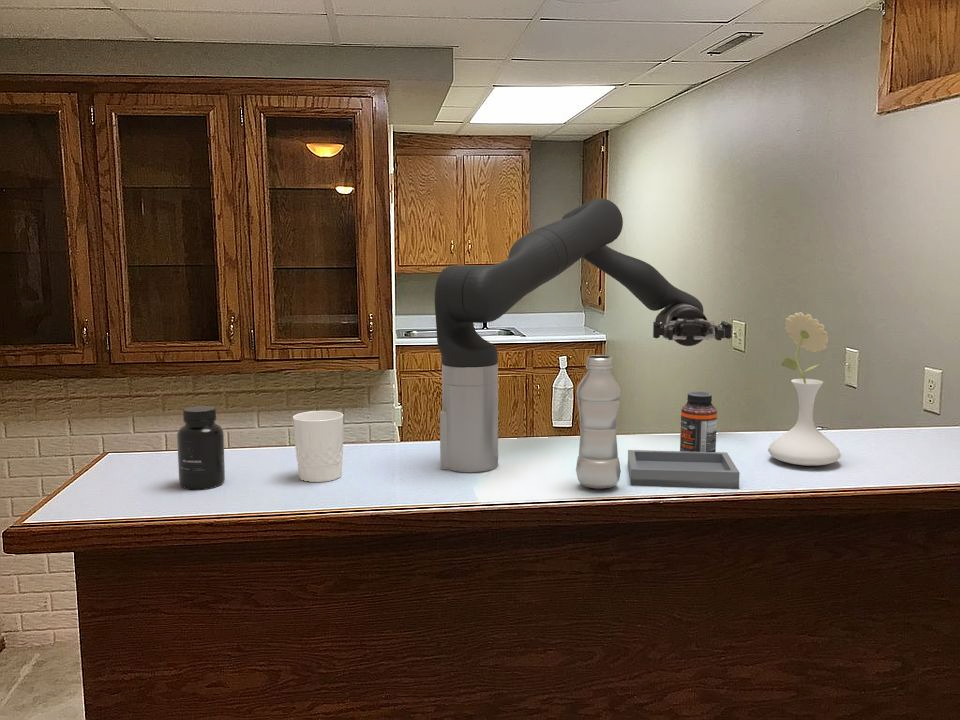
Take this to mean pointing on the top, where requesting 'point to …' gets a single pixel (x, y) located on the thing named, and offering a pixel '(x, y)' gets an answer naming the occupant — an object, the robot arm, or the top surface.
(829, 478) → the top surface
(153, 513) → the top surface
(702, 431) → the supplement bottle
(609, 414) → the plastic bottle
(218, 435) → the supplement bottle
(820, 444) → the flower in vase
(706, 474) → the gray tray
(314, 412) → the white cup
